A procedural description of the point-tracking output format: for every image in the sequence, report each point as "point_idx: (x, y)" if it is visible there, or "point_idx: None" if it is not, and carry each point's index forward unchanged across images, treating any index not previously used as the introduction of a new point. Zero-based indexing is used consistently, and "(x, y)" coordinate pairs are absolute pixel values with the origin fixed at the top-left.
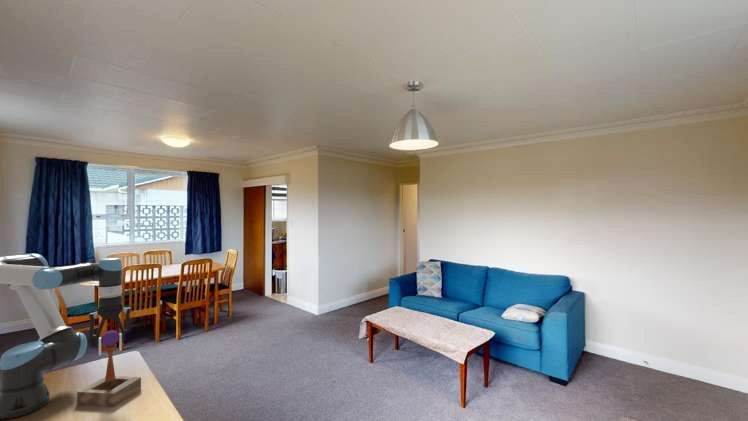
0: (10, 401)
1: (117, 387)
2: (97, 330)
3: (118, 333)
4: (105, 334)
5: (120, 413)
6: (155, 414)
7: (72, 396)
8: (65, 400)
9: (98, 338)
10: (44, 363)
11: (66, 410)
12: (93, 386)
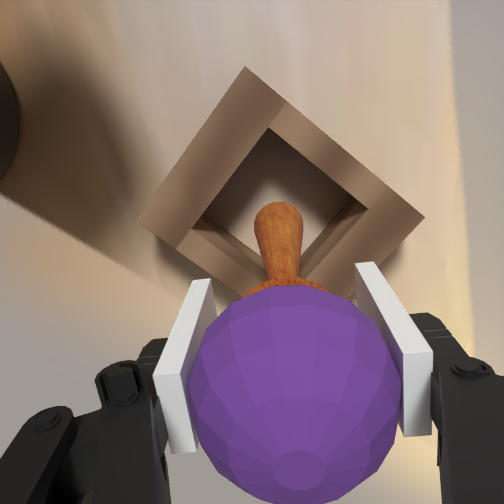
0: None
1: (315, 281)
2: (99, 493)
3: (397, 416)
4: (239, 484)
5: None
6: (435, 447)
7: (104, 89)
8: (87, 122)
9: (163, 443)
10: None
11: (127, 238)
12: (199, 196)
